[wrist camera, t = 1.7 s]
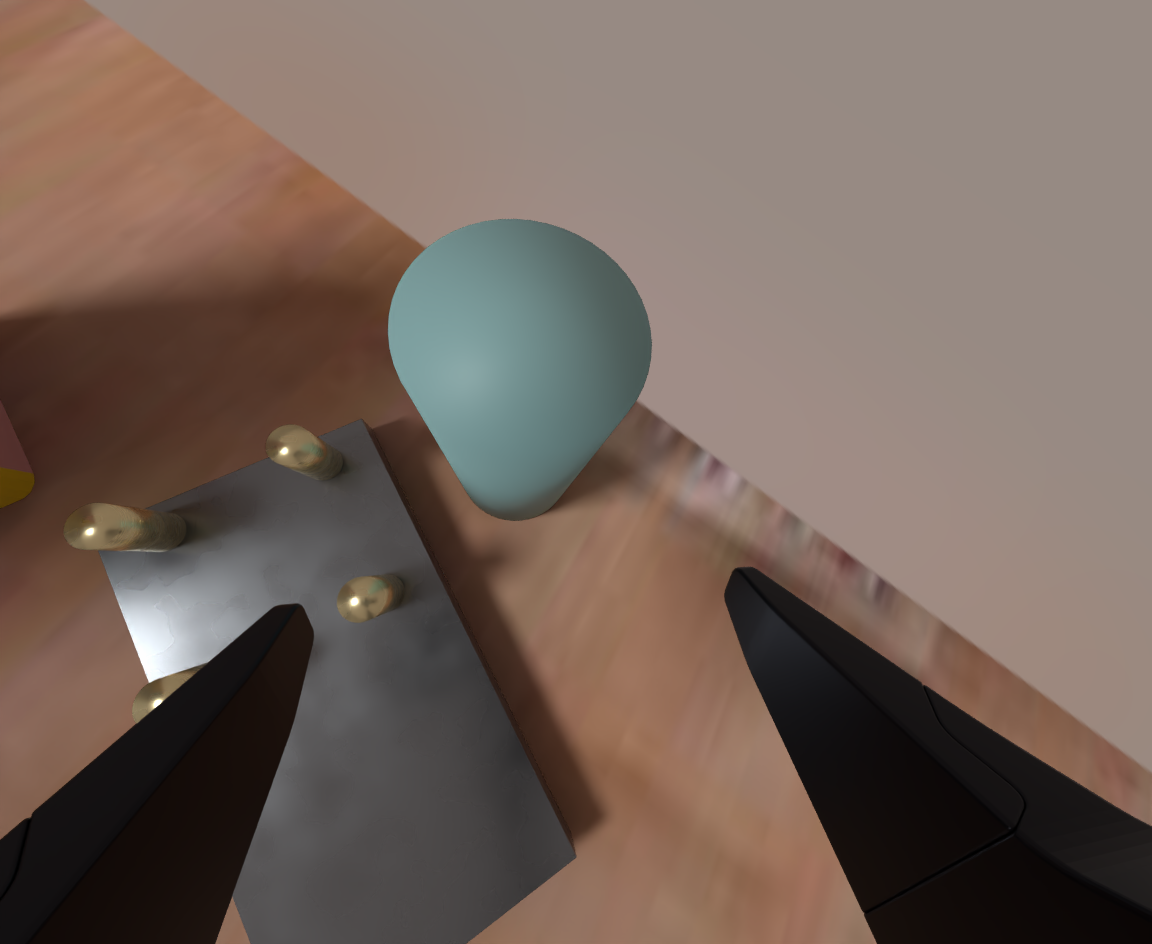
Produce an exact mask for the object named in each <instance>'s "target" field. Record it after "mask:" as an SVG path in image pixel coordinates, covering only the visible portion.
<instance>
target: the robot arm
mask: <svg viewBox="0 0 1152 944" xmlns="http://www.w3.org/2000/svg"><path fill="white" fill-rule="evenodd" d="M724 598H725V603H726V606H727V608H728V611H729V614H730V617H731V620H732V623H733V626H734V628H735V631H736V634H737V637H738V640H739V643H740V645H741V648H742V651H743V654H744V657H745V659H746V662H747V664H748V667H749V669H750V671H751V674H752V676H753V678H754V680H755V682H756V685H757V687H758V689H759V691H760V693H761V695H762V697H763V700H764V702H765V704H766V706H767V708H768V710H769V712H770V715H771V717H772V719H773V721H774V723H775V725H776V727H777V730H778V732H779V734H780V736H781V738H782V740H783V742H784V745H785V747H786V749H787V751H788V753H789V755H790V757H791V760H792V762H793V764H794V766H795V768H796V770H797V772H798V775H799V777H800V779H801V781H802V783H803V785H804V787H805V790H806V792H807V794H808V796H809V798H810V800H811V802H812V805H813V807H814V809H815V811H816V813H817V815H818V817H819V820H820V822H821V824H822V826H823V828H824V830H825V832H826V835H827V837H828V839H829V841H830V843H831V845H832V847H833V850H834V852H835V854H836V856H837V858H838V860H839V862H840V865H841V867H842V869H843V871H844V873H845V875H846V877H847V880H848V882H849V884H850V886H851V888H852V890H853V892H854V895H855V897H856V899H857V901H858V903H859V905H860V907H861V910H862V911H863V912H864V917H865V919H866V921H867V923H868V925H869V927H870V930H871V932H872V934H873V936H874V938H875V940H876V942H877V944H1152V826H1150V825H1148V824H1146V823H1144V822H1142V821H1141V820H1139V819H1137V818H1135V817H1133V816H1131V815H1129V814H1128V813H1126V812H1124V811H1123V810H1121V809H1119V808H1118V807H1116V806H1114V805H1113V804H1111V803H1109V802H1108V801H1106V800H1104V799H1103V798H1101V797H1100V796H1098V795H1096V794H1095V793H1093V792H1091V791H1090V790H1088V789H1087V788H1085V787H1083V786H1082V785H1080V784H1078V783H1077V782H1075V781H1074V780H1072V779H1070V778H1069V777H1067V776H1065V775H1064V774H1062V773H1061V772H1059V771H1057V770H1056V769H1054V768H1052V767H1051V766H1049V765H1048V764H1046V763H1044V762H1043V761H1041V760H1040V759H1038V758H1036V757H1035V756H1033V755H1031V754H1030V753H1028V752H1027V751H1025V750H1023V749H1022V748H1020V747H1018V746H1017V745H1015V744H1014V743H1012V742H1011V741H1009V740H1007V739H1006V738H1004V737H1003V736H1001V735H1000V734H998V733H996V732H995V731H993V730H992V729H990V728H988V727H987V726H985V725H984V724H982V723H981V722H979V721H978V720H976V719H975V718H973V717H972V716H970V715H969V714H967V713H966V712H964V711H963V710H961V709H960V708H958V707H957V706H955V705H954V704H952V703H951V702H949V701H948V700H946V699H945V698H943V697H942V696H940V695H939V694H937V693H936V692H935V691H933V690H932V689H930V688H929V687H927V686H925V685H922V683H921V682H920V681H918V680H917V679H915V678H914V677H913V676H911V675H910V674H908V673H907V672H905V671H904V670H902V669H901V668H900V667H898V666H897V665H895V664H894V663H892V662H891V661H889V660H888V659H886V658H885V657H884V656H882V655H881V654H879V653H878V652H876V651H875V650H873V649H872V648H870V647H869V646H868V645H866V644H865V643H863V642H862V641H860V640H859V639H857V638H856V637H854V636H853V635H852V634H850V633H849V632H847V631H846V630H844V629H843V628H841V627H840V626H838V625H837V624H836V623H834V622H833V621H831V620H830V619H828V618H827V617H825V616H824V615H822V614H821V613H820V612H818V611H817V610H815V609H814V608H812V607H811V606H809V605H808V604H806V603H805V602H804V601H802V600H801V599H799V598H798V597H796V596H795V595H793V594H792V593H790V592H789V591H788V590H786V589H785V588H783V587H782V586H780V585H779V584H777V583H776V582H774V581H773V580H772V579H770V578H769V577H767V576H766V575H764V574H763V573H761V572H760V571H758V570H757V569H755V568H753V567H738V568H735V569H734V570H733V571H732V574H731V576H730V579H729V581H728V584H727V587H726V589H725V594H724ZM313 642H314V630H313V627H312V625H311V623H310V620H309V618H308V616H307V614H306V612H305V609H304V607H303V606H302V605H301V604H299V603H293V604H281V605H277V606H274V607H273V608H271V609H270V610H269V611H268V612H266V613H265V614H264V615H263V616H262V617H261V618H259V619H258V620H257V621H256V622H255V623H254V624H252V625H251V626H250V627H249V628H248V629H247V630H245V631H244V632H243V633H242V634H241V635H240V636H238V637H237V638H236V639H235V640H234V641H232V642H231V643H230V644H229V645H228V646H227V647H225V648H224V649H223V650H222V651H221V652H220V653H218V654H217V655H216V656H215V657H214V658H213V659H211V660H210V661H209V662H208V663H207V664H206V665H204V666H203V667H202V668H201V669H200V670H199V671H197V672H196V673H195V674H194V675H193V676H192V677H190V678H189V679H188V680H187V681H186V682H185V683H183V684H182V685H181V686H180V687H179V688H178V689H176V690H175V691H174V692H173V693H172V694H170V695H169V696H168V697H167V698H166V699H165V700H163V701H162V702H161V703H160V704H159V705H158V706H156V707H155V708H154V709H153V710H152V711H151V712H149V713H148V714H147V715H146V716H145V717H144V718H142V719H141V720H140V721H139V722H138V723H137V724H135V725H134V726H133V727H132V728H131V729H130V730H128V731H127V732H126V733H125V734H124V735H123V736H121V737H120V738H119V739H118V740H117V741H116V742H114V743H113V744H112V745H111V746H110V747H108V748H107V749H106V750H105V751H104V752H103V753H101V754H100V755H99V756H98V757H97V758H96V759H94V760H93V761H92V762H91V763H90V764H89V765H87V766H86V767H85V768H84V769H83V770H82V771H80V772H79V773H78V774H77V775H76V776H75V777H73V778H72V779H71V780H70V781H69V782H68V783H66V784H65V785H64V786H63V787H62V788H61V789H59V790H58V791H57V792H56V793H55V794H54V795H52V796H51V797H50V798H49V799H48V800H47V801H45V802H44V803H43V804H42V805H41V806H39V807H38V808H37V809H36V810H35V811H34V812H33V813H32V816H31V818H26V819H24V820H23V821H22V822H20V823H19V824H18V825H17V826H16V827H15V828H13V829H12V830H11V831H10V832H9V833H8V834H6V835H5V836H4V837H3V838H2V839H1V840H0V944H215V943H216V940H217V937H218V934H219V932H220V929H221V926H222V923H223V920H224V918H225V915H226V912H227V909H228V906H229V904H230V901H231V898H232V895H233V892H234V890H235V887H236V884H237V881H238V878H239V876H240V873H241V870H242V867H243V864H244V862H245V859H246V856H247V853H248V850H249V848H250V845H251V842H252V839H253V836H254V834H255V831H256V828H257V825H258V822H259V820H260V817H261V814H262V811H263V808H264V806H265V803H266V800H267V797H268V794H269V792H270V789H271V786H272V783H273V780H274V778H275V775H276V772H277V769H278V767H279V764H280V761H281V758H282V755H283V753H284V750H285V747H286V744H287V741H288V739H289V736H290V733H291V729H292V726H293V723H294V720H295V716H296V712H297V708H298V704H299V700H300V696H301V692H302V688H303V684H304V679H305V675H306V671H307V667H308V663H309V659H310V655H311V650H312V646H313Z"/></svg>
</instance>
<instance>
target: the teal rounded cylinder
mask: <svg viewBox="0 0 1152 944" xmlns="http://www.w3.org/2000/svg"><path fill="white" fill-rule="evenodd" d="M388 338H389V348H390V352H391V356H392V360H393V364H394V367H395V369H396V371H397V374H398V376H399V378H400V381H401V382H402V384H403V386H404V388H405V389H406V391H407V393H408V394H409V396H410V398H411V399H412V401H413V403H414V404H415V406H416V408H417V409H418V411H419V413H420V415H421V416H422V418H423V420H424V421H425V423H426V425H427V426H428V428H429V430H430V431H431V433H432V435H433V436H434V438H435V440H436V441H437V443H438V445H439V447H440V448H441V450H442V452H443V453H444V455H445V457H446V458H447V460H448V462H449V463H450V465H451V467H452V468H453V470H454V472H455V473H456V475H457V477H458V479H459V480H460V482H461V484H462V485H463V487H464V489H465V490H466V492H467V494H468V495H469V497H470V498H471V500H472V501H473V502H474V503H475V504H476V505H477V506H478V507H479V508H480V509H482V510H483V511H484V512H486V513H488V514H490V515H491V516H494V517H497V518H499V519H504V520H511V521H519V520H526V519H530V518H534V517H536V516H538V515H541V514H542V513H544V512H545V511H547V510H548V509H550V508H551V507H552V506H553V505H554V504H555V503H556V502H557V501H558V499H559V498H560V497H561V496H562V494H563V493H564V492H565V491H566V489H567V488H568V487H569V486H570V484H571V483H572V482H573V481H574V479H575V478H576V477H577V476H578V474H579V473H580V472H581V471H582V469H583V468H584V467H585V466H586V464H587V463H588V462H589V461H590V459H591V458H592V457H593V456H594V454H595V453H596V452H597V451H598V449H599V448H600V447H601V446H602V444H603V443H604V442H605V440H606V439H607V438H608V437H609V435H610V434H611V433H612V432H613V430H614V429H615V428H616V427H617V425H618V424H619V423H620V422H621V420H622V419H623V418H624V417H625V415H626V414H627V413H628V412H629V410H630V409H631V407H632V406H633V405H634V403H635V402H636V400H637V398H638V397H639V394H640V393H641V391H642V389H643V387H644V384H645V381H646V378H647V375H648V371H649V367H650V361H651V349H652V340H651V330H650V325H649V321H648V316H647V313H646V310H645V307H644V305H643V302H642V299H641V298H640V296H639V294H638V292H637V290H636V288H635V286H634V285H633V283H632V282H631V280H630V279H629V278H628V276H627V275H626V273H625V272H624V271H623V270H622V269H621V268H620V267H619V266H618V264H617V263H616V262H615V261H614V260H613V259H611V258H610V257H609V256H608V255H607V254H606V253H605V252H604V251H602V250H601V249H599V248H598V247H597V246H595V245H594V244H593V243H591V242H589V241H587V240H586V239H584V238H582V237H581V236H579V235H577V234H575V233H572V232H570V231H567V230H565V229H563V228H560V227H557V226H554V225H550V224H547V223H542V222H537V221H531V220H520V219H499V220H491V221H484V222H480V223H476V224H472V225H469V226H466V227H463V228H460V229H458V230H455V231H453V232H451V233H449V234H447V235H446V236H444V237H442V238H440V239H438V240H437V241H436V242H434V243H433V244H431V245H430V246H429V247H427V248H426V249H425V250H424V251H423V252H422V253H421V254H420V255H419V256H418V257H417V258H416V259H415V260H414V261H413V262H412V264H411V265H410V266H409V268H408V269H407V270H406V271H405V273H404V275H403V277H402V278H401V280H400V282H399V284H398V286H397V288H396V291H395V294H394V296H393V299H392V303H391V307H390V312H389V320H388Z"/></svg>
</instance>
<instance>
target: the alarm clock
mask: <svg viewBox="0 0 1152 944" xmlns="http://www.w3.org/2000/svg"><path fill="white" fill-rule="evenodd" d="M34 483H35V481H34V473H33V471H32V469H31V467H30V464H29V462H28V460H27V458H26V455H25V453H24V451H23V449H22V447H21V444H20V442H19V440H18V438H17V435H16V433H15V431H14V429H13V426H12V424H11V422H10V420H9V417H8V415H7V413H6V411H5V409H4V406H3V404H2V402H1V400H0V508H2V507H5V506H7V505H9V504H12V503H14V502H16V501H19V500H21V499H23V498H25V497H26V496H27V495H28V494H29V493H30V492H31V491H32V488H33V486H34Z"/></svg>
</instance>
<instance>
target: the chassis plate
mask: <svg viewBox="0 0 1152 944" xmlns="http://www.w3.org/2000/svg"><path fill="white" fill-rule="evenodd" d="M266 452H267V455H268V456H269V457H268V458H266V459H264V460H261V461H259V462H256V463H254V464H252V465H249V466H247V467H244V468H242V469H240V470H237V471H235V472H232V473H230V474H228V475H225V476H223V477H220V478H218V479H216V480H213V481H211V482H208V483H206V484H204V485H201V486H199V487H196V488H194V489H192V490H189V491H187V492H184V493H182V494H180V495H177V496H175V497H172V498H170V499H168V500H165V501H163V502H160V503H158V504H156V505H153V506H151V507H148V508H146V509H140V508H133V507H126V506H119V505H112V504H105V503H90V504H87V505H84V506H82V507H80V508H78V509H76V510H75V511H74V512H73V513H72V514H71V515H70V516H69V517H68V519H67V520H66V522H65V525H64V536H65V539H66V541H67V542H68V543H69V544H70V545H71V546H73V547H75V548H77V549H82V550H98V551H99V554H100V557H101V559H102V562H103V564H104V567H105V569H106V572H107V575H108V577H109V580H110V582H111V585H112V587H113V590H114V593H115V595H116V598H117V600H118V603H119V606H120V608H121V611H122V613H123V616H124V618H125V621H126V624H127V626H128V629H129V631H130V634H131V636H132V639H133V642H134V644H135V647H136V649H137V652H138V654H139V657H140V660H141V662H142V665H143V667H144V670H145V672H146V675H147V678H148V680H149V683H148V684H147V685H146V686H144V687H143V688H142V689H141V690H140V692H139V693H138V694H137V696H136V698H135V700H134V703H133V707H132V714H133V718H134V721H135V722H136V724H137V723H138V722H139V721H140V720H141V719H142V718H144V717H145V716H146V715H147V714H148V713H149V712H151V711H152V710H153V709H154V708H155V707H156V706H158V705H159V704H160V703H161V702H162V701H163V700H165V699H166V698H167V697H168V696H169V695H170V694H172V693H173V692H174V691H175V690H176V689H178V688H179V687H180V686H181V685H182V684H183V683H185V682H186V681H187V680H188V679H189V678H190V677H192V676H193V675H194V674H195V673H196V672H197V671H199V670H200V669H201V668H202V667H203V666H204V665H206V664H207V663H208V662H209V661H210V660H211V659H213V658H214V657H215V656H216V655H217V654H218V653H220V652H221V651H222V650H223V649H224V648H225V647H227V646H228V645H229V644H230V643H231V642H232V641H234V640H235V639H236V638H237V637H238V636H240V635H241V634H242V633H243V632H244V631H245V630H247V629H248V628H249V627H250V626H251V625H252V624H254V623H255V622H256V621H257V620H258V619H259V618H261V617H262V616H263V615H264V614H265V613H266V612H268V611H269V610H270V609H271V608H273V607H274V606H277V605H281V604H293V603H299V604H301V605H302V606H303V607H304V609H305V612H306V614H307V616H308V618H309V620H310V623H311V625H312V627H313V630H314V642H313V646H312V650H311V655H310V659H309V663H308V667H307V671H306V675H305V679H304V684H303V688H302V692H301V696H300V700H299V704H298V708H297V712H296V716H295V720H294V723H293V726H292V729H291V733H290V736H289V739H288V741H287V744H286V747H285V750H284V753H283V755H282V758H281V761H280V764H279V767H278V769H277V772H276V775H275V778H274V780H273V783H272V786H271V789H270V792H269V794H268V797H267V800H266V803H265V806H264V808H263V811H262V814H261V817H260V820H259V822H258V825H257V828H256V831H255V834H254V836H253V839H252V842H251V845H250V848H249V850H248V853H247V856H246V859H245V862H244V864H243V867H242V870H241V873H240V876H239V878H238V881H237V884H236V887H235V890H234V892H233V895H232V896H233V899H234V902H235V904H236V907H237V909H238V912H239V914H240V917H241V920H242V922H243V925H244V927H245V930H246V933H247V935H248V938H249V940H250V943H251V944H466V943H468V942H469V941H470V940H471V939H473V938H474V937H475V936H476V935H478V934H479V933H480V932H482V931H483V930H484V929H485V928H487V927H488V926H489V925H491V924H492V923H493V922H494V921H496V920H497V919H498V918H500V917H501V916H502V915H503V914H505V913H506V912H507V911H508V910H510V909H511V908H512V907H514V906H515V905H516V904H517V903H519V902H520V901H521V900H523V899H524V898H525V897H526V896H528V895H529V894H530V893H531V892H533V891H534V890H535V889H537V888H538V887H539V886H540V885H542V884H543V883H544V882H546V881H547V880H548V879H549V878H551V877H552V876H553V875H555V874H556V873H557V872H558V871H560V870H561V869H562V868H563V867H565V866H566V865H567V864H569V863H570V862H571V861H572V860H574V859H575V858H576V852H575V848H574V844H573V839H572V835H571V832H570V830H569V828H568V826H567V824H566V822H565V820H564V818H563V816H562V814H561V812H560V810H559V808H558V806H557V804H556V802H555V800H554V798H553V796H552V794H551V792H550V790H549V788H548V786H547V784H546V781H545V779H544V777H543V775H542V773H541V771H540V769H539V767H538V765H537V763H536V761H535V759H534V757H533V755H532V753H531V751H530V749H529V747H528V745H527V743H526V741H525V739H524V737H523V735H522V733H521V731H520V729H519V727H518V725H517V723H516V721H515V719H514V717H513V714H512V712H511V710H510V708H509V706H508V704H507V702H506V700H505V698H504V696H503V694H502V692H501V690H500V688H499V686H498V684H497V682H496V680H495V678H494V676H493V674H492V672H491V670H490V668H489V666H488V664H487V662H486V660H485V658H484V656H483V654H482V652H481V650H480V648H479V645H478V643H477V641H476V639H475V637H474V635H473V633H472V631H471V629H470V627H469V625H468V623H467V621H466V619H465V617H464V615H463V613H462V611H461V609H460V607H459V605H458V603H457V601H456V599H455V597H454V595H453V593H452V591H451V589H450V587H449V585H448V583H447V581H446V578H445V576H444V574H443V572H442V570H441V568H440V566H439V564H438V562H437V560H436V558H435V556H434V554H433V552H432V550H431V548H430V546H429V544H428V542H427V540H426V538H425V536H424V534H423V532H422V530H421V528H420V526H419V524H418V522H417V520H416V518H415V516H414V514H413V511H412V509H411V507H410V505H409V503H408V501H407V499H406V497H405V495H404V493H403V491H402V489H401V487H400V485H399V483H398V481H397V479H396V477H395V475H394V473H393V471H392V469H391V467H390V465H389V463H388V461H387V459H386V457H385V455H384V453H383V451H382V449H381V447H380V445H379V442H378V440H377V438H376V436H375V434H374V432H373V430H372V429H371V428H370V427H369V426H368V425H367V424H366V423H365V422H364V421H363V420H362V419H360V420H357V421H355V422H353V423H350V424H348V425H345V426H343V427H341V428H338V429H336V430H333V431H331V432H329V433H326V434H324V435H321V436H319V437H317V436H315V435H314V434H312V433H311V432H309V431H307V430H306V429H304V428H303V427H301V426H298V425H284V426H281V427H278V428H277V429H275V430H274V431H273V432H272V433H271V434H270V435H269V437H268V438H267V441H266Z"/></svg>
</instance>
